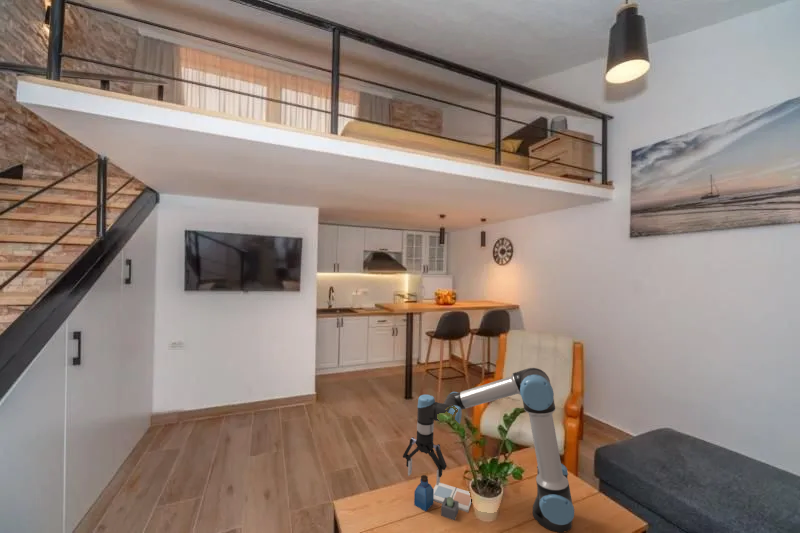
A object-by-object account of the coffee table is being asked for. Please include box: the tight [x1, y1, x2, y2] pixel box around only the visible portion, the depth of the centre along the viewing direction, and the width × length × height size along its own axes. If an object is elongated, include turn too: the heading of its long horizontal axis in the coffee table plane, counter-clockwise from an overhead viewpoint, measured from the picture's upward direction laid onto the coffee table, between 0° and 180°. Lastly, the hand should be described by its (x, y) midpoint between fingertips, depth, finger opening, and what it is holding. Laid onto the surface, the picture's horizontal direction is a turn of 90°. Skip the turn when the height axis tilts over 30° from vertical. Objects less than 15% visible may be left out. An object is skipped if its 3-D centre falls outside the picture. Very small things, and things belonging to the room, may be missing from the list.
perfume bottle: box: [413, 474, 434, 512], centre depth 141 cm, size 6×6×12 cm
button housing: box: [440, 497, 459, 521], centre depth 136 cm, size 6×6×4 cm
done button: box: [447, 497, 453, 508], centre depth 136 cm, size 3×3×4 cm
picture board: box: [433, 482, 472, 513], centre depth 146 cm, size 18×12×1 cm, turn 65°
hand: (423, 478), depth 142 cm, fingers open, 13 cm apart
